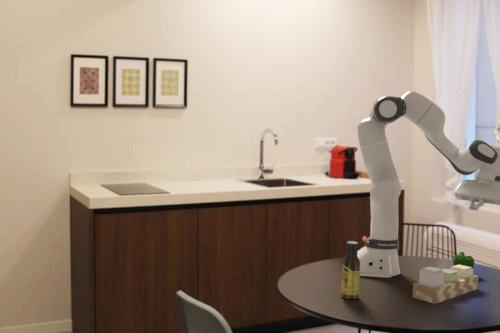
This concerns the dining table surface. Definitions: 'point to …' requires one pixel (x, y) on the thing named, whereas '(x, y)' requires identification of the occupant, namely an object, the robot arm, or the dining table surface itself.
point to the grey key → (431, 277)
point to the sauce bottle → (350, 272)
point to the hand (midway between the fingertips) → (473, 209)
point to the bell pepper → (463, 260)
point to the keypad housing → (445, 290)
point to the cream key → (463, 271)
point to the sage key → (450, 276)
